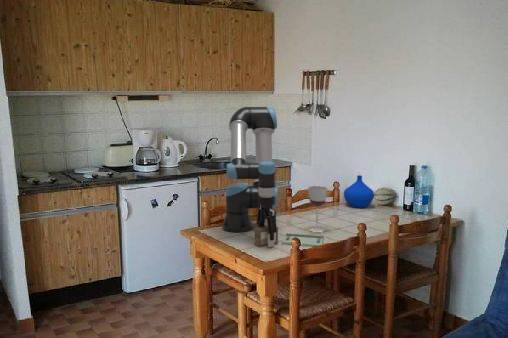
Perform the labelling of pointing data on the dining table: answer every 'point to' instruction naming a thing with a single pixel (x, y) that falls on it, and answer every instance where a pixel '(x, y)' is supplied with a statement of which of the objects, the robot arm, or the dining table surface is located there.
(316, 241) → the ledge board
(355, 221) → the dining table surface
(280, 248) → the dining table surface
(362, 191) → the vase
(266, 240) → the frame
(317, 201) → the wineglass
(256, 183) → the robot arm
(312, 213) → the dining table surface
